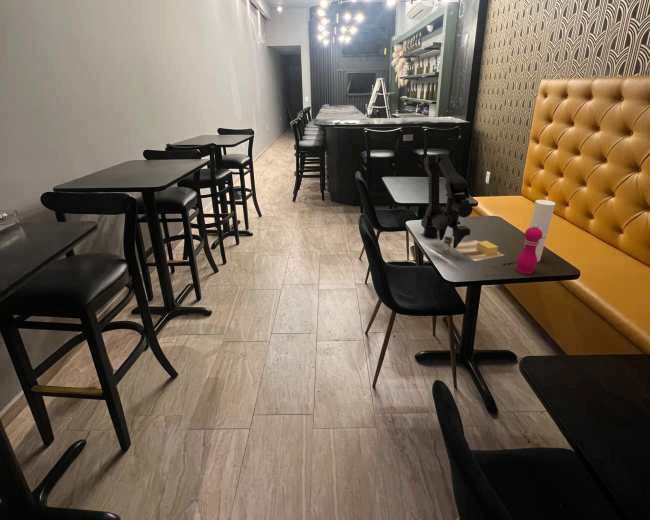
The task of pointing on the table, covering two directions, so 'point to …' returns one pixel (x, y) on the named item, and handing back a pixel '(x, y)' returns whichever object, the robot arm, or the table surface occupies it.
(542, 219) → the cylindrical container
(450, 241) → the bronze metal canister
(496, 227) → the table surface
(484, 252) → the mustard yellow box
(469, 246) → the board
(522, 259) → the pink bowling pin
